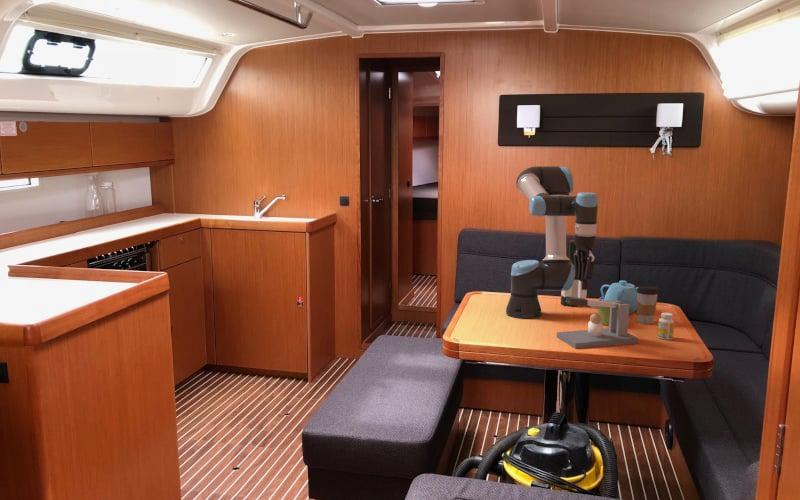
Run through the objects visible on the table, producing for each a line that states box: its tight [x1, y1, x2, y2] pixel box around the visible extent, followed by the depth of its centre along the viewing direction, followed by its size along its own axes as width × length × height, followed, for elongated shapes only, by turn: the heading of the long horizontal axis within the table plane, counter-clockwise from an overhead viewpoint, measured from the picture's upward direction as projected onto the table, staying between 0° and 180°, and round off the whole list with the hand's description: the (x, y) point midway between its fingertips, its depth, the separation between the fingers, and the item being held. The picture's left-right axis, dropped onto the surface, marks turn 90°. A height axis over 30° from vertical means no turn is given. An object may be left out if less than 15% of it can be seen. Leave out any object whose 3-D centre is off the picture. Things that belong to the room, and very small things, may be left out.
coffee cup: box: [636, 284, 659, 325], centre depth 267 cm, size 8×8×15 cm
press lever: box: [565, 296, 621, 310], centre depth 241 cm, size 4×23×3 cm, turn 104°
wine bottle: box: [560, 239, 579, 308], centre depth 294 cm, size 8×8×30 cm
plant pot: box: [597, 301, 611, 327], centre depth 265 cm, size 9×9×9 cm
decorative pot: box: [598, 279, 638, 315], centre depth 285 cm, size 16×16×14 cm
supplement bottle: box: [657, 312, 675, 341], centre depth 246 cm, size 5×5×10 cm
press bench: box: [556, 301, 639, 349], centre depth 242 cm, size 14×26×14 cm, turn 104°
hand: (582, 297), depth 239 cm, fingers closed
